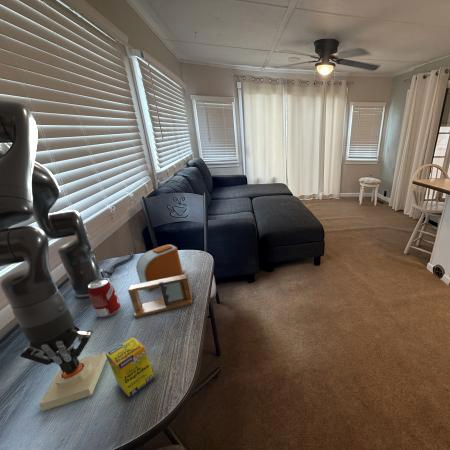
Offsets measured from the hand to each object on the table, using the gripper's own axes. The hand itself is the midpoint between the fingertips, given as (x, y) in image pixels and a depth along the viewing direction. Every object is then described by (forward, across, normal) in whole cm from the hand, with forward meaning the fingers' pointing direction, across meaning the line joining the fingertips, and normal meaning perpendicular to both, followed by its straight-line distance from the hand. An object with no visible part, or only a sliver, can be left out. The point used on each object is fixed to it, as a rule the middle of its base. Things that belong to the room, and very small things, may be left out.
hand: (72, 369), depth 59 cm
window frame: (+4, -17, -24) cm, 30 cm away
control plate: (+4, 0, 0) cm, 4 cm away
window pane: (+3, -20, -22) cm, 30 cm away
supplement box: (+4, -14, +6) cm, 16 cm away
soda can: (+4, +1, -28) cm, 28 cm away
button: (+2, 0, 0) cm, 2 cm away
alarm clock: (+4, -14, -44) cm, 46 cm away
